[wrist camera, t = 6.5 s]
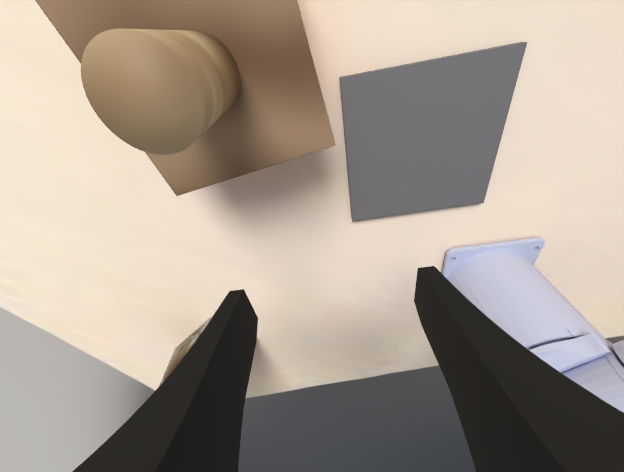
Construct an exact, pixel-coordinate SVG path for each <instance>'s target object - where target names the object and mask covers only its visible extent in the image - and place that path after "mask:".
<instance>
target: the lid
mask: <svg viewBox="0 0 624 472" xmlns="http://www.w3.org/2000/svg"><path fill="white" fill-rule="evenodd" d="M35 1H36V2H37V3H38V5H39V6H40V8H41V9H42V10H43V12H44V13H45V15H46V16H47V17H48V19H49V20H50V21H51V23H52V24H53V26H54V27H55V28H56V30H57V31H58V33H59V34H60V35H61V37H62V38H63V39H64V41H65V42H66V44H67V45H68V46H69V48H70V49H71V50H72V52H73V53H74V55H75V56H76V57H77V59H78V60H79V62H80V63H81V77H82V82H83V87H84V90H85V93H86V95H87V98H88V100H89V102H90V104H91V106H92V107H93V109H94V111H95V112H96V114H97V115H98V117H99V118H100V119H101V120H102V122H103V123H104V124H105V125H106V126H107V127H108V128H109V129H110V130H111V131H112V132H113V133H114V134H115V135H116V136H118V137H119V138H120V139H122V140H123V141H124V142H126V143H128V144H129V145H131V146H133V147H135V148H137V149H139V150H142V151H145V153H146V154H147V155H148V157H149V158H150V160H151V161H152V162H153V164H154V165H155V167H156V168H157V169H158V171H159V172H160V173H161V175H162V176H163V178H164V179H165V180H166V182H167V183H168V184H169V186H170V187H171V189H172V190H173V191H174V193H175V194H176V196H179V195H182V194H185V193H188V192H191V191H194V190H197V189H200V188H203V187H207V186H210V185H213V184H216V183H219V182H222V181H225V180H228V179H231V178H235V177H238V176H241V175H244V174H247V173H250V172H253V171H256V170H259V169H263V168H266V167H269V166H272V165H275V164H278V163H281V162H284V161H287V160H291V159H294V158H297V157H300V156H303V155H306V154H309V153H312V152H315V151H319V150H322V149H325V148H328V147H331V146H334V145H335V142H334V138H333V135H332V131H331V127H330V123H329V120H328V116H327V112H326V108H325V105H324V101H323V97H322V93H321V90H320V86H319V82H318V78H317V74H316V71H315V67H314V63H313V59H312V56H311V52H310V48H309V44H308V41H307V37H306V33H305V29H304V26H303V22H302V18H301V14H300V11H299V7H298V3H297V0H35Z"/></svg>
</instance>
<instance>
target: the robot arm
mask: <svg viewBox="0 0 624 472" xmlns="http://www.w3.org/2000/svg"><path fill="white" fill-rule="evenodd" d="M544 242H545V241H544V240H543V239H542V238H530V239H522V240H514V241H506V242H499V243H491V244H483V245H475V246H467V247H459V248H452V249H449V250H448V251H447V252H446V256H445V261H444V266H443V271H442V273H441V272H440V271H439V270H438V269H437V268H436V267H434V266H431V267H423V268H418V272H417V281H416V290H415V298H414V302H415V305H416V308H417V312H418V315H419V318H420V321H421V324H422V327H423V329H424V331H425V334H426V336H427V338H428V341H429V343H430V345H431V347H432V350H433V352H434V354H435V357H436V359H437V361H438V363H439V366H440V368H441V370H442V372H443V375H444V377H445V379H446V382H447V384H448V387H449V389H450V392H451V394H452V397H453V400H454V403H455V406H456V409H457V412H458V415H459V418H460V421H461V424H462V427H463V430H464V433H465V437H466V440H467V443H468V446H469V449H470V452H471V455H472V459H473V462H474V465H475V469H476V472H624V341H619V342H617V343H615V344H612V343H611V342H609V341H607V340H606V339H605V338H604V337H603V336H602V335H601V334H600V333H599V332H598V331H597V330H596V329H595V328H594V327H593V326H592V325H591V324H590V323H589V322H588V321H587V319H586V318H585V317H584V316H583V315H582V314H581V313H580V312H579V311H578V310H577V309H576V308H575V307H574V306H573V305H572V304H571V303H570V302H569V301H568V300H567V299H566V298H565V297H564V296H563V295H562V294H561V293H560V292H559V291H558V290H557V289H556V288H555V287H554V286H553V285H552V284H551V283H550V282H549V280H548V279H547V278H546V277H545V276H544V275H543V274H542V273H541V272H540V271H539V270H538V269H537V268H536V267H535V266H534V263H535V261H536V259H537V257H538V255H539V253H540V251H541V249H542V247H543V245H544ZM452 257H453V258H452ZM257 323H258V318H257V316H256V314H255V311H254V309H253V307H252V305H251V303H250V301H249V299H248V297H247V295H246V293H245V291H244V290H235V291H230V292H229V293H228V295H227V296H226V297H225V299H224V300H223V302H222V303H221V305H220V306H219V308H218V309H217V311H216V312H215V314H214V315H213V317H212V318H211V320H210V321H209V323H208V324H207V326H206V327H205V329H204V330H203V331H202V333H201V334H200V336H199V337H198V339H197V340H196V341H195V343H194V344H193V345H192V347H191V348H190V349H189V351H188V352H187V353H186V355H185V356H184V357H183V358H182V360H181V361H180V362H179V364H178V365H177V366H176V367H175V369H174V370H173V371H172V372H171V373H170V375H169V376H168V377H167V378H166V379H165V381H164V382H163V383H162V384H161V385H160V386H159V387H158V389H157V390H156V391H155V392H154V393H153V394H152V395H151V396H150V398H148V400H147V401H146V402H145V403H144V404H143V405H142V406H141V407H140V408H139V409H138V410H137V411H136V412H135V413H134V414H133V415H132V416H131V417H130V418H129V420H128V421H127V422H126V423H124V424H123V425H122V426H121V427H120V428H119V429H118V430H117V431H116V432H115V433H114V434H113V435H112V436H111V437H110V438H109V439H108V440H107V441H106V442H105V443H104V444H103V445H102V446H100V447H99V448H98V449H97V450H96V451H95V452H94V453H93V454H92V455H91V456H90V457H89V458H88V459H86V460H85V461H84V462H83V463H82V464H81V465H79V466H78V467H77V468H76V469H75V470H74V471H73V472H238V461H239V449H240V437H241V427H242V418H243V408H244V402H245V396H246V391H247V386H248V381H249V376H250V371H251V366H252V361H253V356H254V350H255V345H256V337H257Z"/></svg>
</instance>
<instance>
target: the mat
mask: <svg viewBox="0 0 624 472" xmlns="http://www.w3.org/2000/svg"><path fill="white" fill-rule="evenodd" d="M526 44H527V42H520V43H515V44H509V45H504V46H499V47H494V48H489V49H483V50H478V51H473V52H468V53H463V54H457V55H452V56H447V57H442V58H437V59H432V60H426V61H421V62H416V63H411V64H406V65H400V66H395V67H390V68H385V69H380V70H374V71H369V72H364V73H359V74H354V75H348V76H343V77H340V88H341V100H342V111H343V123H344V134H345V145H346V157H347V168H348V180H349V191H350V203H351V214H352V221H359V220H366V219H373V218H380V217H387V216H394V215H401V214H408V213H415V212H422V211H429V210H436V209H443V208H450V207H457V206H465V205H472V204H479V203H484V199H485V195H486V192H487V188H488V184H489V181H490V177H491V173H492V170H493V166H494V162H495V159H496V155H497V151H498V148H499V144H500V140H501V137H502V133H503V129H504V125H505V122H506V118H507V114H508V111H509V107H510V103H511V100H512V96H513V92H514V89H515V85H516V81H517V78H518V74H519V70H520V67H521V63H522V59H523V56H524V52H525V48H526Z"/></svg>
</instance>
